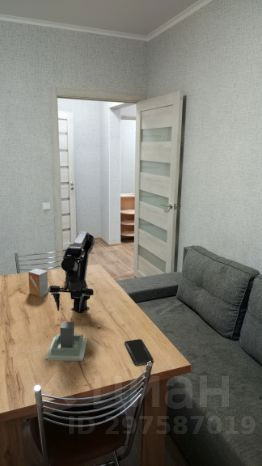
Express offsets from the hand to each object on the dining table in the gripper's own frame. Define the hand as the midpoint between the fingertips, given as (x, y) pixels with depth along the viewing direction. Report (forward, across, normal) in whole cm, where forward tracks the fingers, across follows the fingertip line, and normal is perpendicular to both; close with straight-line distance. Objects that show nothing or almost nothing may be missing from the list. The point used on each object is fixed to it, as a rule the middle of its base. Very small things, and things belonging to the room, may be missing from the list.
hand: (69, 311), depth 139 cm
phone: (+15, +26, -16) cm, 34 cm away
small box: (-8, -7, +46) cm, 47 cm away
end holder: (+15, 0, -4) cm, 15 cm away
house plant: (-18, +14, +56) cm, 60 cm away
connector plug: (+14, 0, -5) cm, 15 cm away
